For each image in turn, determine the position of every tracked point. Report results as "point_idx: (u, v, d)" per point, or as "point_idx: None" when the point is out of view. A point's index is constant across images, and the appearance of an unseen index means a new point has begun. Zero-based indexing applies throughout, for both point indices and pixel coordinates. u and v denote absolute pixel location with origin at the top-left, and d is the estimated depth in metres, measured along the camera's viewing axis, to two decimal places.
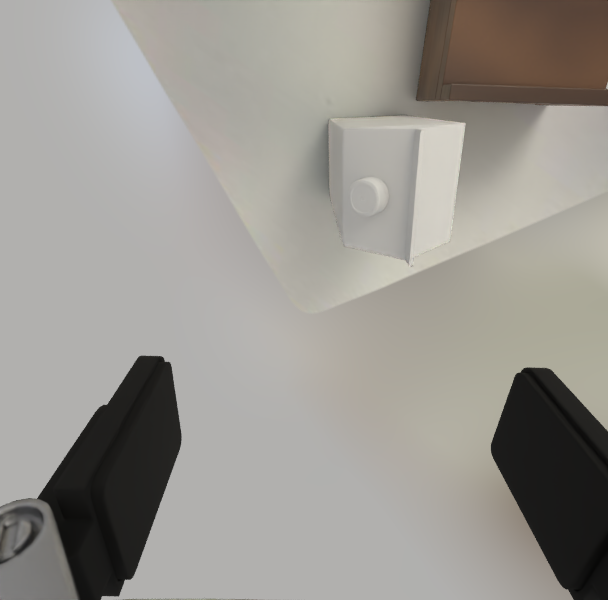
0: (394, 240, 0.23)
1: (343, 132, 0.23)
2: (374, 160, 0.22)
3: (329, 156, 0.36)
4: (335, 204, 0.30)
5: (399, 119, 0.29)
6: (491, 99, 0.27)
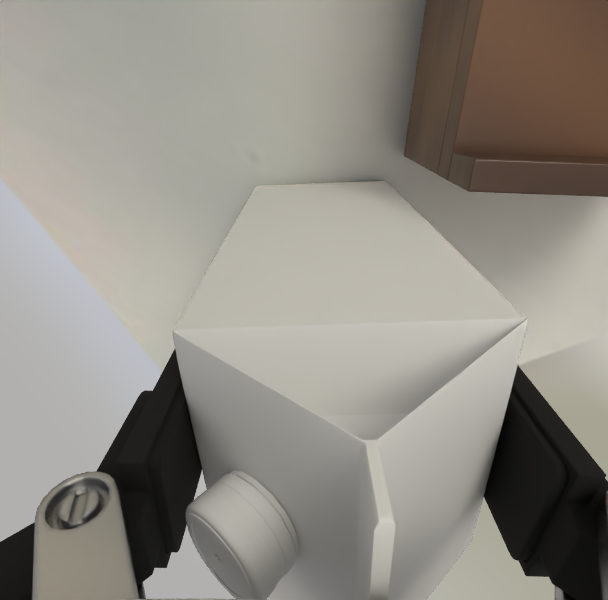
0: None
1: (174, 338, 0.08)
2: (252, 445, 0.07)
3: None
4: None
5: (364, 220, 0.14)
6: (561, 191, 0.12)
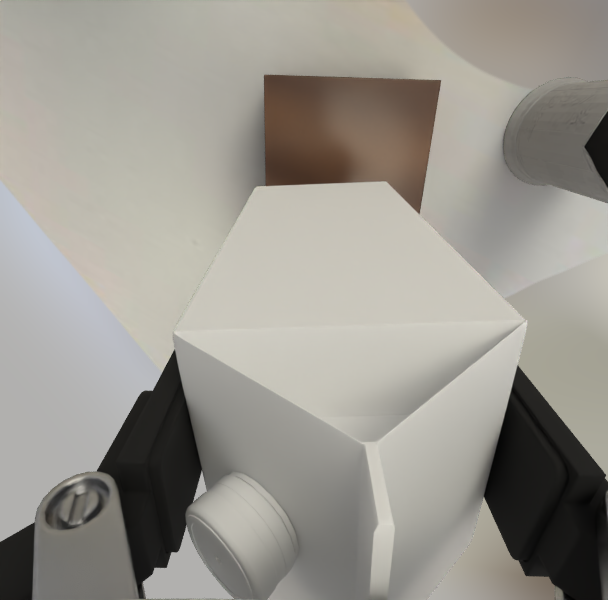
0: None
1: (174, 339, 0.08)
2: (252, 446, 0.07)
3: None
4: None
5: (364, 221, 0.14)
6: None
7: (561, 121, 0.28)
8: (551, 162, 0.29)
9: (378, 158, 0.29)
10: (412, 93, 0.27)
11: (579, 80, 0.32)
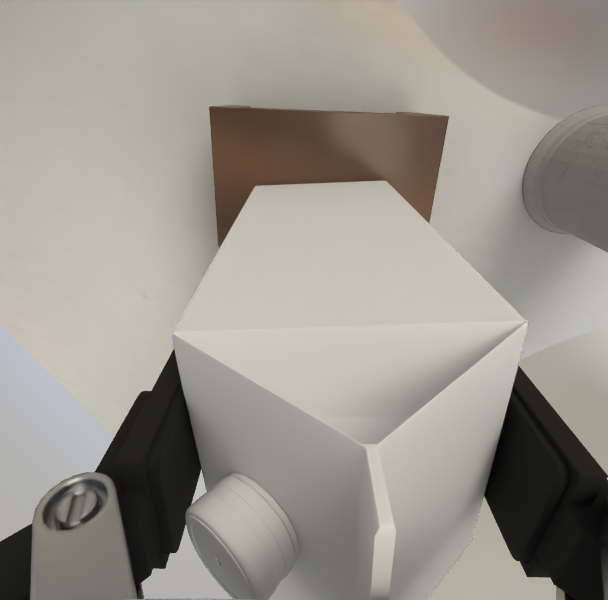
0: None
1: (173, 340, 0.08)
2: (252, 447, 0.07)
3: None
4: None
5: (364, 220, 0.14)
6: None
7: (607, 169, 0.21)
8: (590, 220, 0.22)
9: None
10: (410, 132, 0.20)
11: None
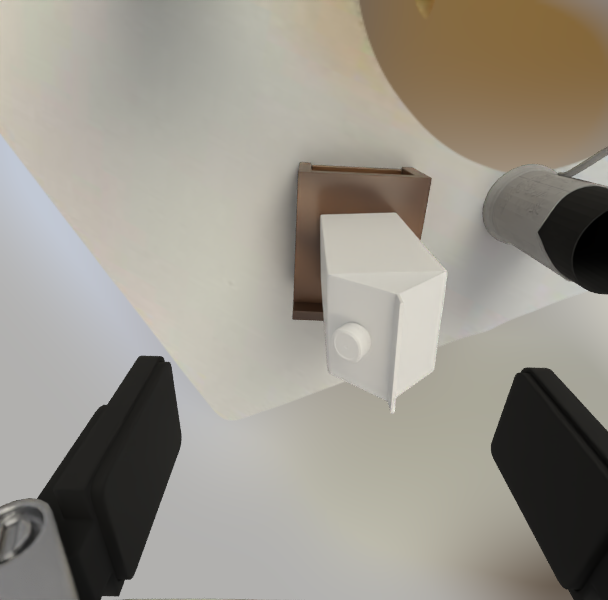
0: (377, 382, 0.23)
1: (328, 277, 0.23)
2: (357, 309, 0.22)
3: None
4: None
5: (387, 236, 0.29)
6: (322, 319, 0.39)
7: (523, 207, 0.36)
8: (516, 236, 0.37)
9: None
10: (410, 186, 0.35)
11: (541, 167, 0.40)
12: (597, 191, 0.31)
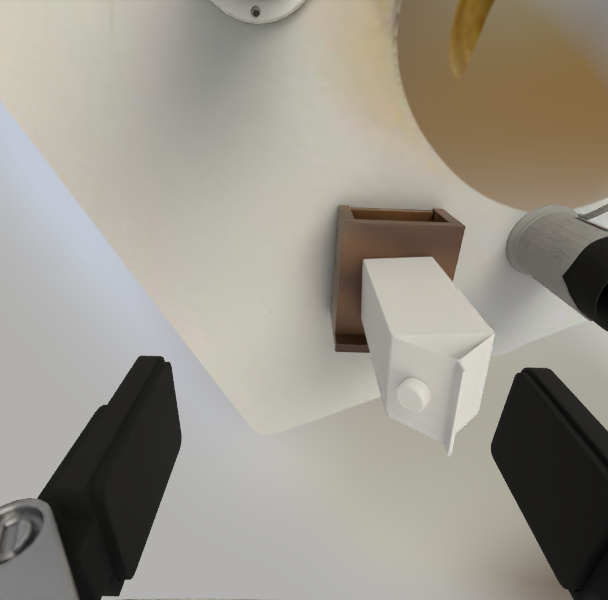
0: (433, 427, 0.27)
1: (391, 338, 0.27)
2: (419, 367, 0.26)
3: (363, 291, 0.40)
4: (373, 355, 0.34)
5: (431, 288, 0.33)
6: (362, 351, 0.43)
7: (547, 250, 0.40)
8: (540, 275, 0.41)
9: None
10: (445, 233, 0.39)
11: (562, 208, 0.44)
12: None
